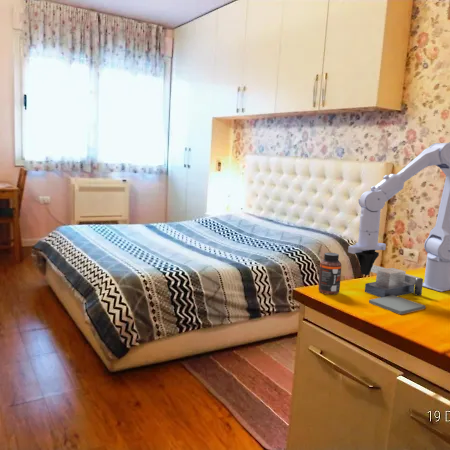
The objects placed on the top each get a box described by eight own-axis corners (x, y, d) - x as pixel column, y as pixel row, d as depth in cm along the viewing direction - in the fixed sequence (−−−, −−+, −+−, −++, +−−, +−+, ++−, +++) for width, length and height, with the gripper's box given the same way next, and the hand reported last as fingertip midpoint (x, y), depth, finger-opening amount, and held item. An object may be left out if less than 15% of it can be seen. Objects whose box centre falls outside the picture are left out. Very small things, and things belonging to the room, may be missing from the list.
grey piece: (393, 286, 136) (394, 278, 136) (413, 292, 130) (414, 284, 130) (364, 291, 129) (365, 283, 129) (384, 298, 124) (385, 290, 123)
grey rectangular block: (391, 280, 133) (392, 267, 133) (404, 284, 129) (405, 271, 129) (375, 283, 130) (377, 270, 129) (388, 287, 126) (389, 273, 125)
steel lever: (372, 279, 143) (374, 264, 142) (422, 294, 128) (424, 278, 127) (368, 279, 142) (369, 265, 141) (418, 295, 127) (420, 279, 126)
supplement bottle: (339, 296, 125) (342, 256, 123) (318, 294, 126) (321, 255, 124) (338, 290, 130) (341, 252, 129) (318, 288, 131) (320, 250, 130)
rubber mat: (392, 297, 125) (393, 295, 125) (425, 308, 116) (425, 305, 116) (368, 302, 119) (369, 299, 119) (400, 314, 111) (400, 311, 111)
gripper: (374, 227, 141) (370, 268, 143) (342, 230, 133) (338, 273, 136) (393, 231, 135) (388, 274, 137) (360, 233, 128) (356, 279, 130)
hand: (365, 274), depth 136 cm, fingers closed
